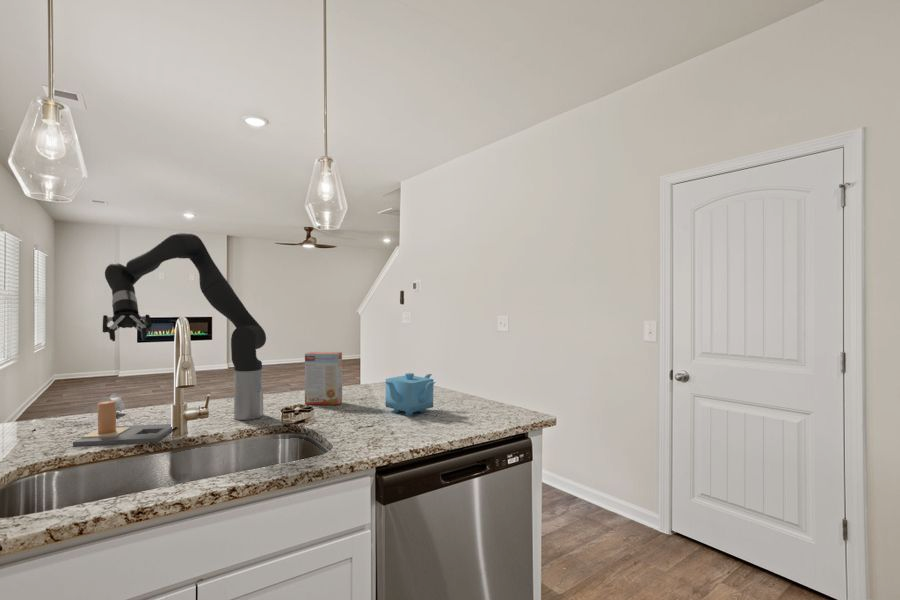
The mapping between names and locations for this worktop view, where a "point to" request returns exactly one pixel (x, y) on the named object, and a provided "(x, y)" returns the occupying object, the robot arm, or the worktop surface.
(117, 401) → the elephant figurine
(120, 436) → the pocket plate
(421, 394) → the teakettle
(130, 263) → the robot arm
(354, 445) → the worktop surface
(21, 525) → the worktop surface
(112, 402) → the peg
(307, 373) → the cracker box
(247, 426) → the worktop surface
